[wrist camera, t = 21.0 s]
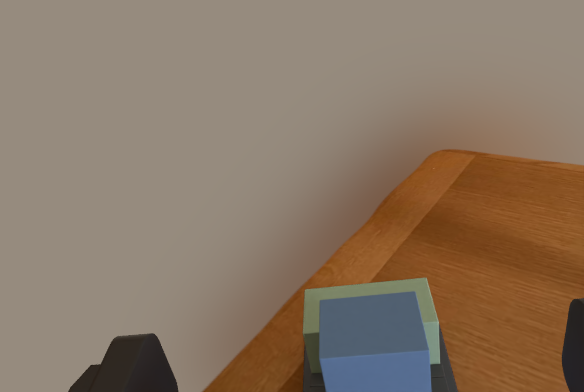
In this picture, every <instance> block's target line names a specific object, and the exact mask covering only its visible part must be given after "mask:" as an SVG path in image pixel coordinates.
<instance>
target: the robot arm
mask: <svg viewBox="0 0 584 392" xmlns="http://www.w3.org/2000/svg"><path fill="white" fill-rule="evenodd" d="M562 366H563V372H564V376H565V380H566V383H567V386H568V388H569V391H570V392H584V298H582V299H574V300H572V302H571V304H570V307H569V313H568V320H567V326H566V333H565V339H564V346H563V352H562ZM68 392H178V386H177V382H176V379H175V377H174V375H173V372H172V370H171V368H170V365H169V363H168V361H167V358H166V356H165V353H164V351H163V349H162V346H161V344H160V342H159V339H158V338H157V336H156V335H155V334H140V335H128V336H118V337H116V338H114V339H113V341H112V342H111V344H110V346H109V348H108V350H107V352H106V354H105V356H104V359H103V361H102V363H101V364H99V365H91V366H90V367H89V368H88V369H87V370H86V371H85V372H84V373H83V374H82V376H81V377H80V378H79V379H78V380H77V381H76V382H75V383H74V384H73V385H72V386H71V387H70V389H69V391H68Z"/></svg>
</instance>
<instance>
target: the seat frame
mask: <svg viewBox="0 0 584 392" xmlns="http://www.w3.org/2000/svg"><path fill="white" fill-rule="evenodd" d="M411 291H415V292H416V295H417V300H418V304H419V308H420V312H421V317H422V321H423V325H424V329H425V334H426V338H427V342H428V347H429V351H430V371H431V390H432V392H458V390H457V387H456V383H455V379H454V376H453V372H452V368H451V365H450V361H449V358H448V354H447V350H446V347H445V343H444V339H443V336H442V332H441V329H440V325H439V321H438V318H437V314H436V311H435V307H434V304H433V300H432V296H431V293H430V289H429V285H428V282H427V279H426V278H417V279H407V280H397V281H387V282H377V283H366V284H356V285H346V286H336V287H326V288H316V289H306V290H305V297H304V319H303V337H304V341H305V350H304V376H303V392H326V390H325V385H324V381H323V376H322V371H321V366H320V362H319V309H320V300H326V299H337V298H347V297H358V296H368V295H379V294H390V293H400V292H411Z"/></svg>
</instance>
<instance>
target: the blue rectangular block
mask: <svg viewBox="0 0 584 392" xmlns="http://www.w3.org/2000/svg"><path fill="white" fill-rule="evenodd" d="M319 362H320V366H321V371H322V376H323V381H324V385H325V390H326V392H432V390H431V371H430V351H429V347H428V342H427V338H426V334H425V329H424V325H423V321H422V317H421V312H420V308H419V304H418V300H417V295H416V292H415V291H411V292H400V293H390V294H379V295H368V296H358V297H347V298H337V299H326V300H320V309H319Z"/></svg>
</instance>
